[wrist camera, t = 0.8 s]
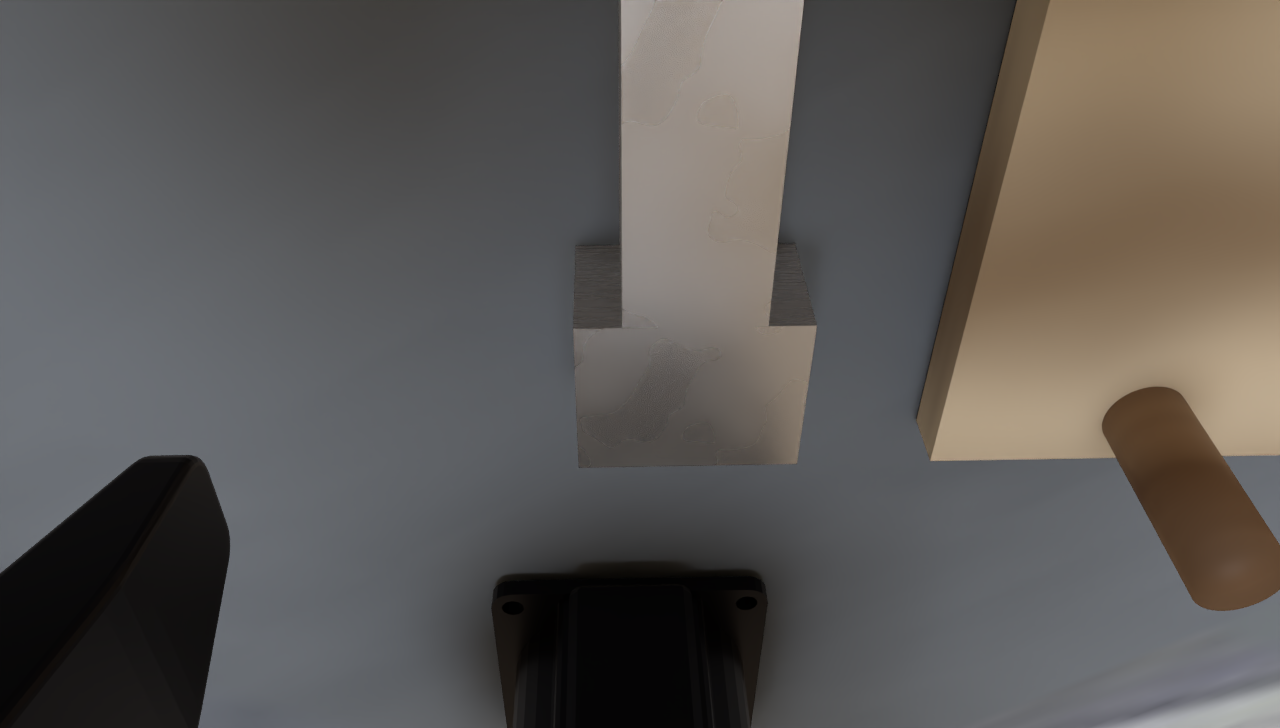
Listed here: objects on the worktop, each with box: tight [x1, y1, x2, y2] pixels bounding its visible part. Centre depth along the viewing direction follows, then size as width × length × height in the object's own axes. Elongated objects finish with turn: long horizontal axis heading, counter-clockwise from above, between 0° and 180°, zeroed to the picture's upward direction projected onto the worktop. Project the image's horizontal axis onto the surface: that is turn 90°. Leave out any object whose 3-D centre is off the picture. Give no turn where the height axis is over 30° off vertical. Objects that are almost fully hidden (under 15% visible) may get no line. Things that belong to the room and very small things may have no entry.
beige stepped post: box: [573, 0, 817, 468], centre depth 15 cm, size 16×4×2 cm, turn 0°
